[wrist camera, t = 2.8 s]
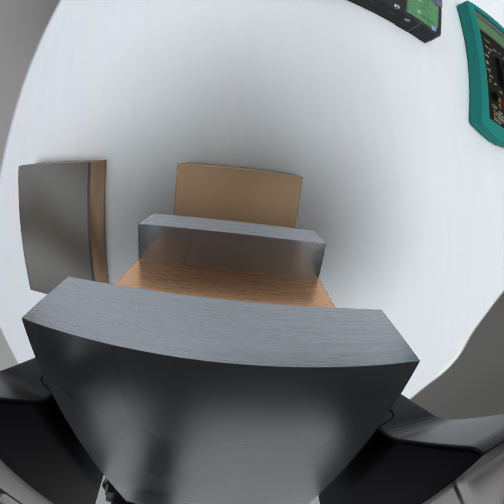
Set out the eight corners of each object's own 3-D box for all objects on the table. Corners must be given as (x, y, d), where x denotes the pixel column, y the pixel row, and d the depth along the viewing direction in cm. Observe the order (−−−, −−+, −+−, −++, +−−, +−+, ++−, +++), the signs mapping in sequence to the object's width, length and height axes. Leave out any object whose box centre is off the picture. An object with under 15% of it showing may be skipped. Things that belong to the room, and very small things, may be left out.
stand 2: (272, 310, 20) (275, 329, 18) (179, 300, 20) (172, 318, 18) (294, 174, 17) (302, 177, 15) (186, 162, 17) (177, 163, 14)
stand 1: (109, 289, 20) (95, 305, 17) (46, 277, 19) (30, 289, 17) (106, 160, 16) (88, 162, 14) (38, 163, 16) (18, 166, 14)
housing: (277, 390, 11) (293, 516, 5) (160, 378, 10) (126, 500, 5) (314, 230, 8) (419, 360, 3) (153, 213, 8) (21, 317, 2)
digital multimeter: (464, 129, 16) (487, 130, 13) (452, 3, 11) (469, -5, 9) (505, 153, 17) (525, 156, 14) (496, 36, 12) (512, 32, 9)
